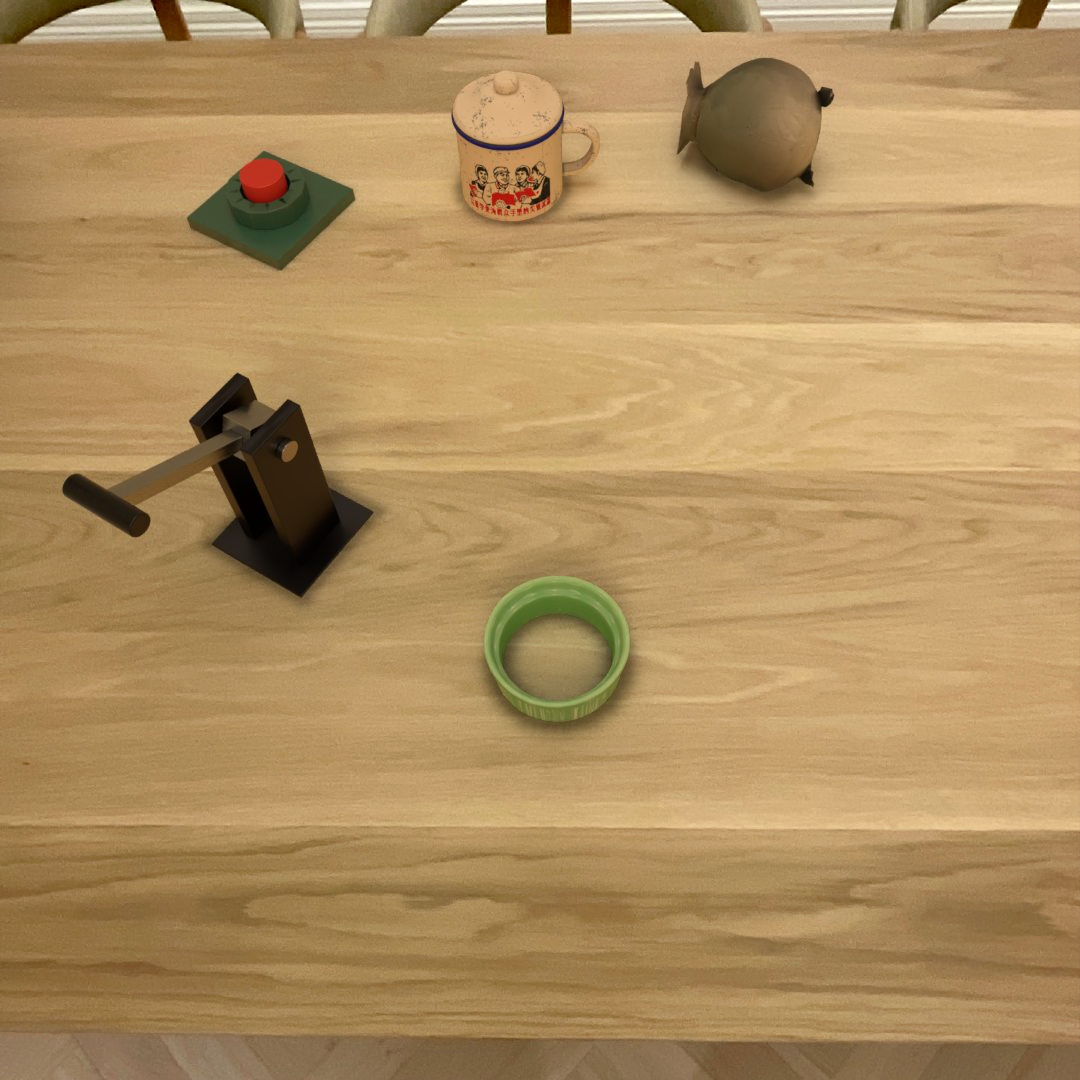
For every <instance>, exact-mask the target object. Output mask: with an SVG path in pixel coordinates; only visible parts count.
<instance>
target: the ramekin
mask: <svg viewBox="0 0 1080 1080" xmlns="http://www.w3.org/2000/svg"><path fill="white" fill-rule="evenodd" d="M489 614H490V615H489V617H488V618H487V620H486V624H485V627H484V632H483V642H482V643H483V652H484V653H483V654H484V658H485V661H486V664H487V666H488V669H489V671H490V673H491V674H492V677H493V678H494V679H495V680H496V683H497V687H498V688H499V690H500V691H501V693H502V696H503V697H505V698H506V700H507V701H508V702H509V703H510V704H511V705H512V706H513V707H514V708H516V709H517V710H518V711H519V712H521V713H523V714H525V715H527V716H529V717H532V718H533V719H537V720H542V721H545V722H556V723H558V722H564V723H565V722H570V721H575V720H577V719H580V718H583V717H585V716H588V715H590V714H592V713H593V712H595V711H596V710H598V709H599V708H600V707H602V705H604V704H605V703H606V702H607V701H608V699H609V698H610V697H611V696H612V694H613V693H614V692H615V690H616V689H617V685H618V683H619V682H620V678H621V674H622V673H623V671H624V670H625V667H626V664H627V662H628V659H629V654H630V650H631V634H630V633H631V632H630V628H629V627H630V626H629V624H628V620H627V618H626V615H625V614H624V612H623V611H622V608H621V607H620V606H619V604H618V603H617V602H616V600H615V599H614V598H613V597H612V596H611V595H609V593H607V592H606V591H605V590H604V589H602V588H601V587H600V586H598V585H596V584H594V583H592V582H590V581H587V580H585V579H582V578H580V577H575V576H570V575H557V574H554V575H545V576H540V577H536V578H533V579H530V580H526V581H524V582H523V583H521V584H519V585H517V586H515V587H514V588H511V590H510V591H508V592H507V593H505V595H503V596H502V597H501V598H500V600H499V601H498V602H497V603H496V604H495V606H494V607H493V609H492V610H491V612H490V613H489ZM547 615H569V616H573V617H576V618H579V619H581V620H584V621H585V622H587V623H588V624H590V625H592V626H593V627H594V628H595V629H596V630H597V631H598V632H599V633H601V635H602V636H603V638H604V639H605V641H606V643H607V645H608V647H609V650H610V654H611V666H610V668H609V670H608V672H607V673H606V675H605V676H604V677H603V679H602V680H600V682H598V684H597V685H596V686H595V687H593V688H592V689H590V690H589V691H586V692H585V693H582V694H581V695H578V696H576V697H572V698H567V699H562V700H550V699H544V698H539V697H536V696H534V695H531V694H529V693H527V692H525V691H524V690H522V689H521V688H520V687H518V686H517V685H516V684H515V683H514V682H513V681H512V680H511V679H510V677H509V676H508V673H506V671H505V669H504V654H505V651H506V648H507V646H508V643H509V641H510V640H511V639H512V637H513V636H514V634H515V633H516V632H517V631H518V630H519V629H520V628H521V627H523V626H524V625H525V624H527V623H528V622H530V621H533V620H534V619H536V618H539V617H543V616H547Z"/></svg>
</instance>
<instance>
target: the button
mask: <svg viewBox="0 0 1080 1080" xmlns="http://www.w3.org/2000/svg"><path fill="white" fill-rule="evenodd" d="M241 168H242V169H241ZM241 168H240V169H241V171H240V174H239V178H240V182H241V185H242V188H243V191H244V194H245V196H246V198H247V199H248V200H249V201H251V202H253V203H269V202H271V201H274V200H277V199H280V198H281V197H282V196H283V195H284V194H285V193H286V192H287V189H288V185H287V181H286V178H285V174H284V171H283V168H282V166H281V164H280V163H278V162H277V161H275V160H272V159H257V160H254V161H252V160H251V161H250V162H247V163H246V164H245V165H243V166H242V167H241Z"/></svg>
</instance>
